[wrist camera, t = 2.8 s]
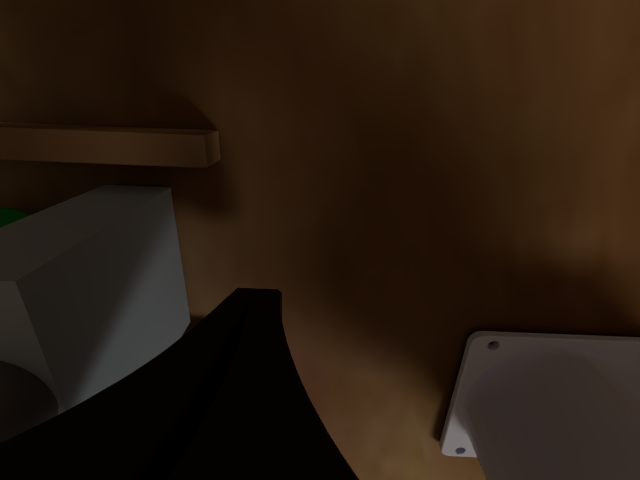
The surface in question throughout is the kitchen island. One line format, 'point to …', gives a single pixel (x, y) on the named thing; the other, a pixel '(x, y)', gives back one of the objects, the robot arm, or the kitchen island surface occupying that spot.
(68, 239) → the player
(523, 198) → the kitchen island surface
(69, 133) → the pitch goal
